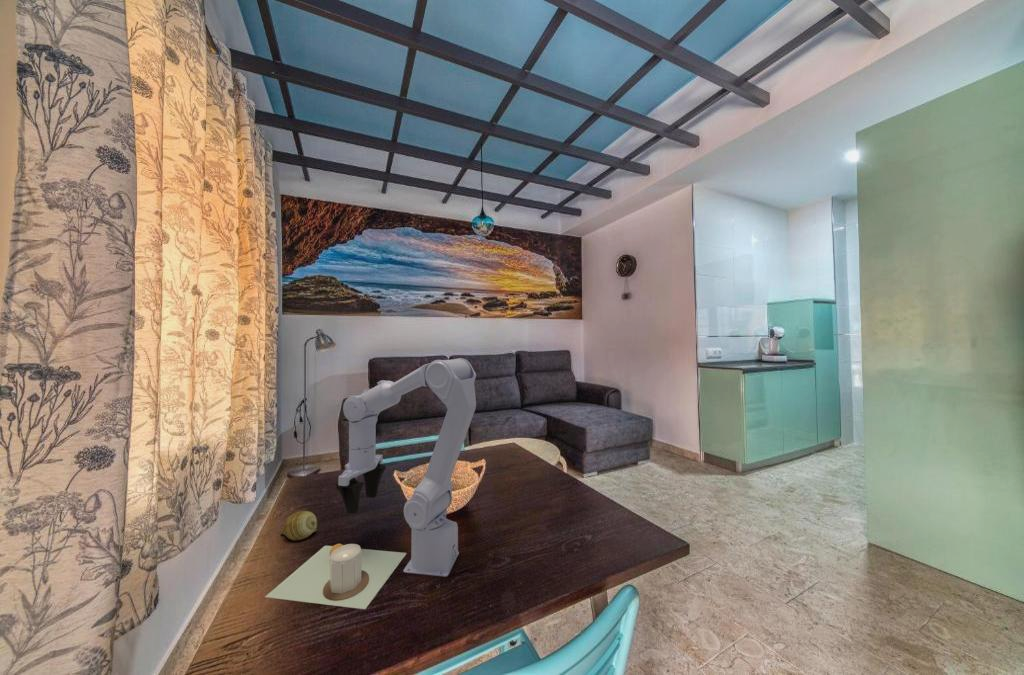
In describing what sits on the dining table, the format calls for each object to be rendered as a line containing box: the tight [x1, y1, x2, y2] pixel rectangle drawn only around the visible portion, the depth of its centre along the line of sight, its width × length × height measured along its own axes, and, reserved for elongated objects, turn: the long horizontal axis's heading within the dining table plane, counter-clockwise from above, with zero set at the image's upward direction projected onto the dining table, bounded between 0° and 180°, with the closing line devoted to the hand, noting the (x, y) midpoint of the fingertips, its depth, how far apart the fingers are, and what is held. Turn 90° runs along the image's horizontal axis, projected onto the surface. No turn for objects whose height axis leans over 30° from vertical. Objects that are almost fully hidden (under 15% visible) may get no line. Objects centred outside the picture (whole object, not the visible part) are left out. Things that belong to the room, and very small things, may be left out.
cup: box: [330, 543, 362, 594], centre depth 65 cm, size 5×5×6 cm
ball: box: [330, 543, 344, 557], centre depth 73 cm, size 3×3×3 cm
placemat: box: [264, 545, 407, 610], centre depth 69 cm, size 20×16×1 cm
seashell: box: [279, 510, 318, 541], centre depth 83 cm, size 10×7×8 cm
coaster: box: [323, 570, 369, 601], centre depth 65 cm, size 8×8×1 cm
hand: (362, 504), depth 79 cm, fingers open, 7 cm apart
